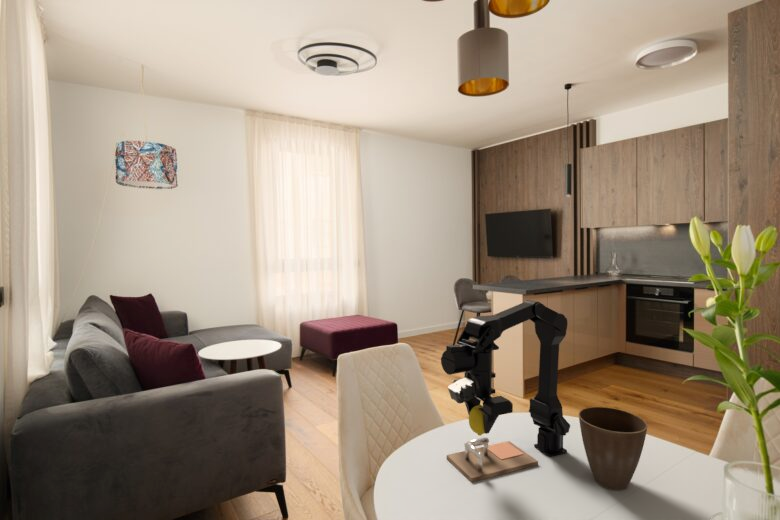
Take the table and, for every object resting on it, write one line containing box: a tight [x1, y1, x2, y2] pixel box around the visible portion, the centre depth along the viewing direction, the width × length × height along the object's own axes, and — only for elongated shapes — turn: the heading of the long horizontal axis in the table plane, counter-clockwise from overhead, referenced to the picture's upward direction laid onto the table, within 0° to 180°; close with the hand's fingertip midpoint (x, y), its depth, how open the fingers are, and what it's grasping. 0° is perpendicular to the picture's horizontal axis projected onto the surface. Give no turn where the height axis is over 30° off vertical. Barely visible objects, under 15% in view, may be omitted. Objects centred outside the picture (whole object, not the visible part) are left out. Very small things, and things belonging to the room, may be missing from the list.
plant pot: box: [578, 406, 648, 491], centre depth 104 cm, size 15×15×16 cm
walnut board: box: [446, 440, 539, 483], centre depth 113 cm, size 21×12×1 cm, turn 113°
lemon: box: [468, 403, 485, 436], centre depth 107 cm, size 6×6×8 cm
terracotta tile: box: [488, 441, 524, 460], centre depth 117 cm, size 8×8×1 cm
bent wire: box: [464, 437, 490, 472], centre depth 111 cm, size 8×8×5 cm
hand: (479, 428), depth 107 cm, fingers closed on lemon, 5 cm apart
